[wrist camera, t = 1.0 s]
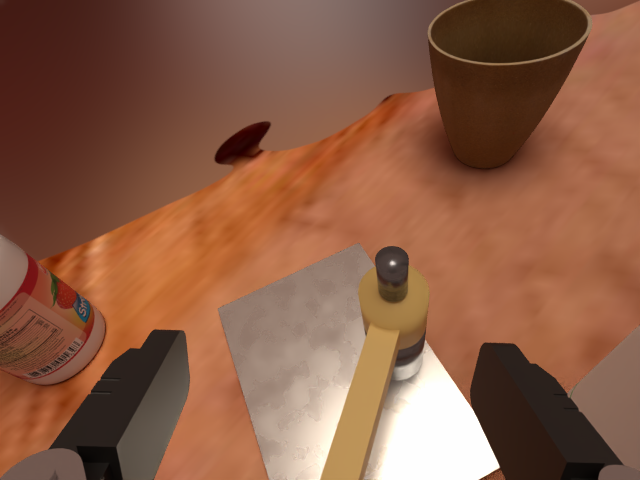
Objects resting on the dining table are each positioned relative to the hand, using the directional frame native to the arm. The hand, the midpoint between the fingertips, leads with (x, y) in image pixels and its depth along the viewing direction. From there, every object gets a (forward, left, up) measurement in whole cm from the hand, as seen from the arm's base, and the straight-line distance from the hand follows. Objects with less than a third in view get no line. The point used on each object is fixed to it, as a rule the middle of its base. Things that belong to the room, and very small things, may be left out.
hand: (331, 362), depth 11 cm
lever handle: (-1, -3, -18) cm, 18 cm away
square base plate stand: (-1, -9, -25) cm, 27 cm away
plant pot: (-30, -27, -26) cm, 48 cm away
